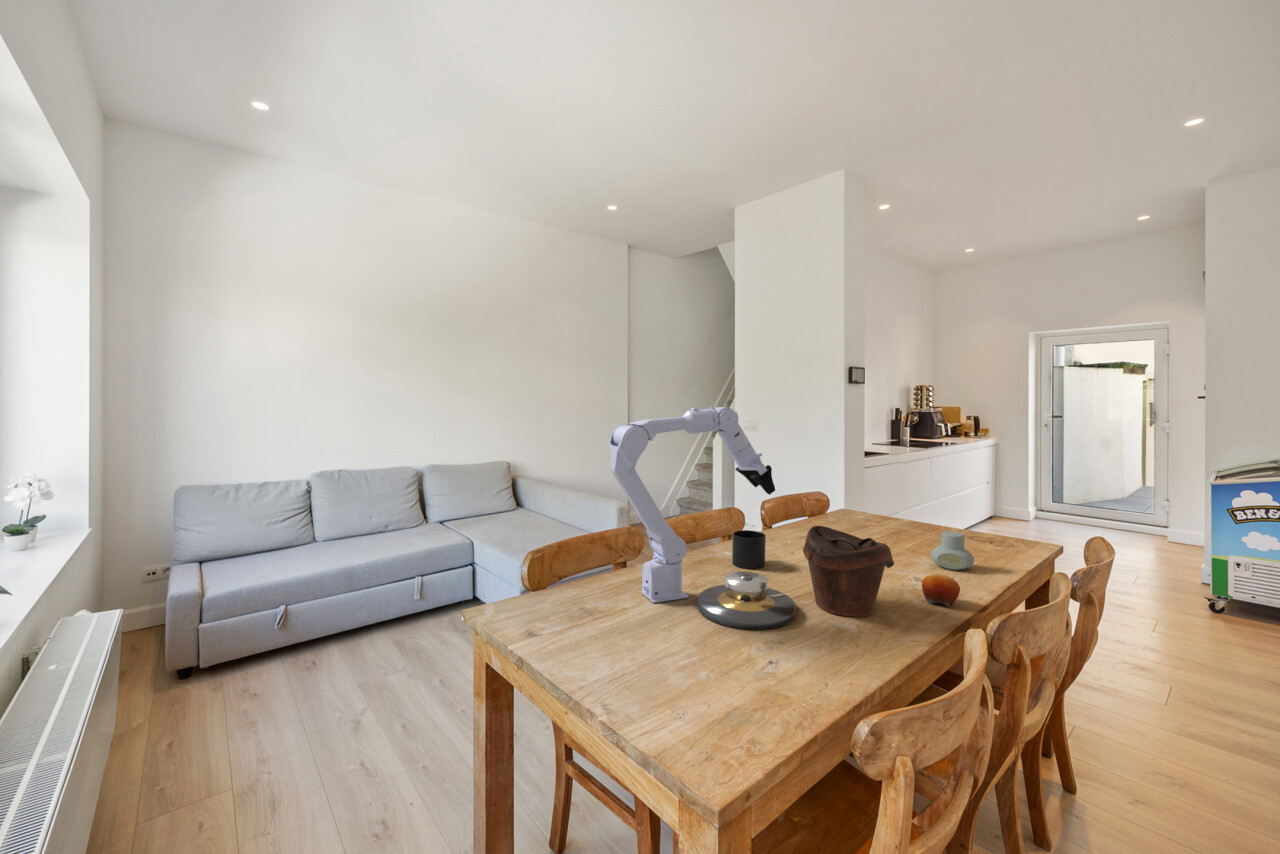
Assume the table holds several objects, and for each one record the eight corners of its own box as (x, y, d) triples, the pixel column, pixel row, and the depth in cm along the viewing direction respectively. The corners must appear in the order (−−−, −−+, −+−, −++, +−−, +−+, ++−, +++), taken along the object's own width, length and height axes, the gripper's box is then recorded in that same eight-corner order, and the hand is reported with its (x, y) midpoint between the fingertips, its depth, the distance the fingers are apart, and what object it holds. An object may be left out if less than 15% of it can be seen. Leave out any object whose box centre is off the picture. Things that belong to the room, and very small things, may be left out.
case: (902, 626, 116) (904, 543, 115) (805, 618, 120) (806, 538, 119) (882, 597, 134) (883, 525, 133) (798, 591, 138) (799, 522, 137)
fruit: (921, 601, 127) (922, 568, 130) (921, 608, 133) (922, 576, 136) (961, 608, 123) (961, 573, 126) (958, 615, 129) (959, 581, 132)
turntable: (730, 636, 110) (730, 626, 110) (681, 598, 131) (681, 590, 131) (816, 620, 119) (816, 610, 119) (758, 587, 139) (758, 579, 139)
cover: (739, 602, 123) (740, 585, 123) (717, 588, 132) (717, 572, 132) (776, 596, 127) (776, 580, 127) (751, 583, 136) (752, 567, 136)
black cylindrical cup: (776, 563, 160) (776, 533, 160) (752, 571, 152) (753, 540, 151) (749, 556, 167) (750, 527, 167) (725, 564, 159) (726, 533, 158)
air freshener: (973, 566, 158) (975, 533, 157) (973, 574, 151) (974, 539, 150) (931, 560, 164) (932, 528, 163) (929, 567, 157) (930, 533, 156)
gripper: (764, 442, 132) (790, 486, 135) (740, 434, 146) (764, 473, 149) (742, 459, 131) (768, 502, 135) (719, 449, 145) (744, 488, 148)
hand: (764, 488), depth 142 cm, fingers open, 7 cm apart
